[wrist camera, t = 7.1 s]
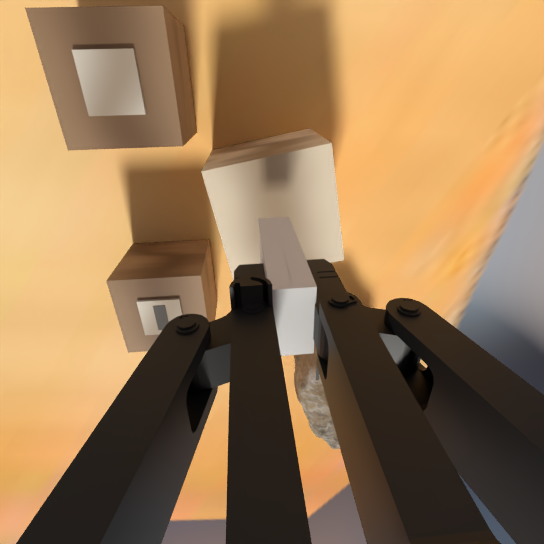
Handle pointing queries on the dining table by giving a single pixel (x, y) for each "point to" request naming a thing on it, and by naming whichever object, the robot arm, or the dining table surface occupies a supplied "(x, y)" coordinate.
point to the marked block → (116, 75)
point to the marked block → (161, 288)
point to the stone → (314, 398)
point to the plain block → (275, 194)
